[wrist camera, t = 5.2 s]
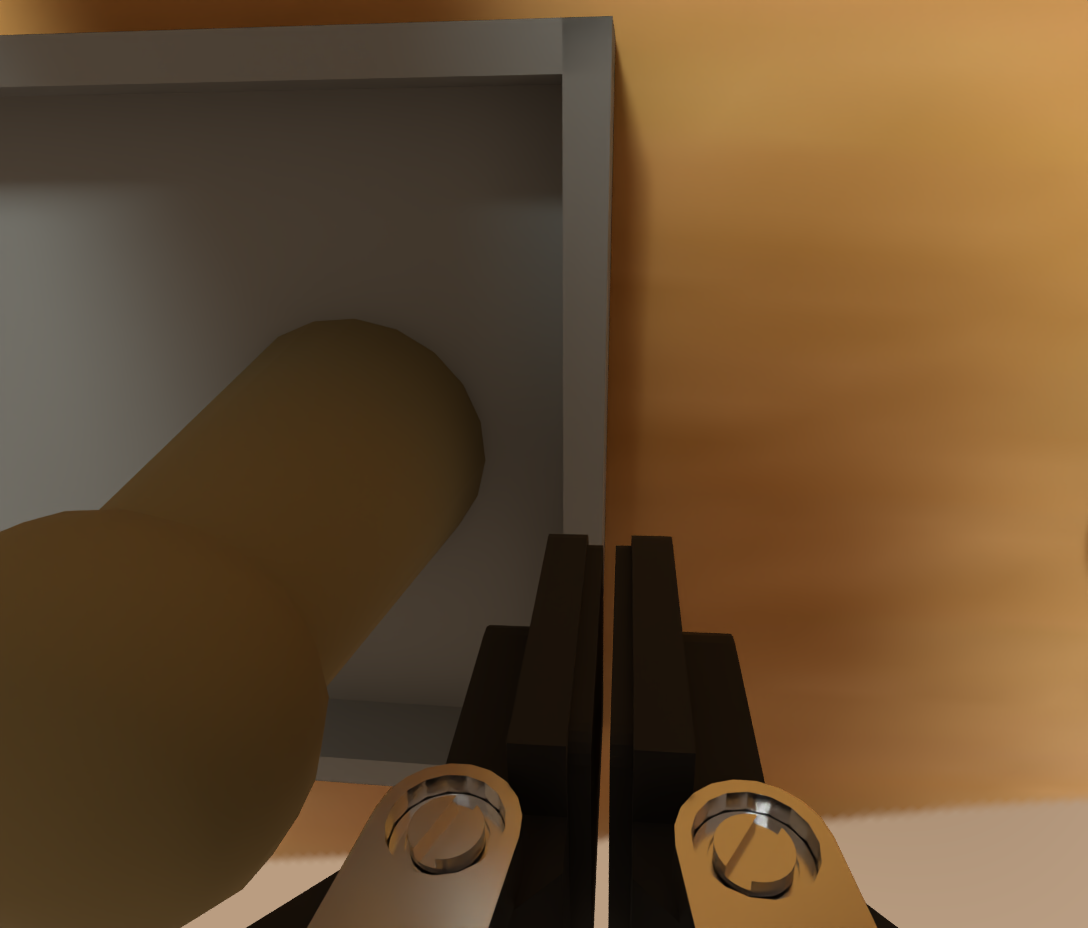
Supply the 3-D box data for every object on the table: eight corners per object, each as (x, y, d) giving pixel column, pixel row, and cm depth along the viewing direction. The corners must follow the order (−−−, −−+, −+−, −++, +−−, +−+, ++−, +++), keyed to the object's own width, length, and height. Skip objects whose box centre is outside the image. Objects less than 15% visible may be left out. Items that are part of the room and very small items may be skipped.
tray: (615, 37, 14) (612, 15, 12) (600, 729, 21) (596, 801, 18) (-454, 68, 17) (-628, 55, 14) (-172, 678, 23) (-261, 736, 21)
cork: (189, 453, 18) (-362, 832, 8) (322, 260, 16) (-201, 447, 6) (388, 601, 19) (119, 1101, 9) (538, 438, 17) (404, 857, 7)
